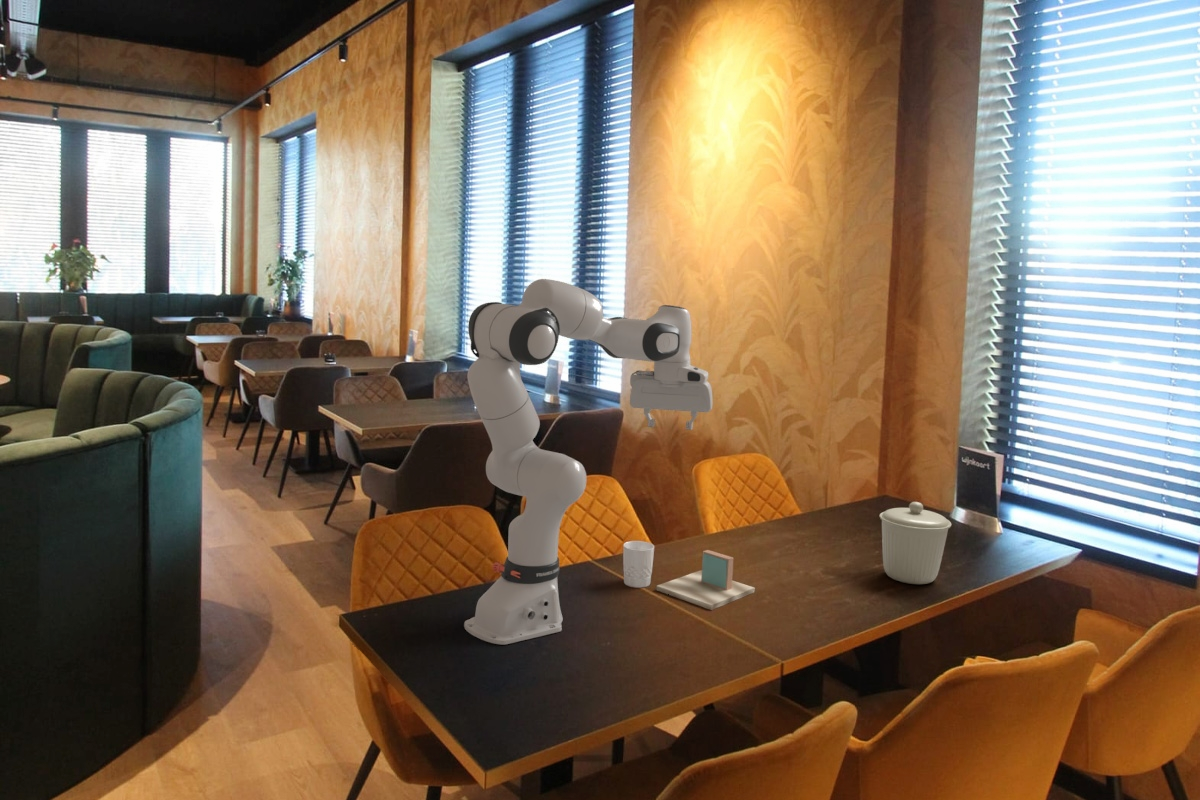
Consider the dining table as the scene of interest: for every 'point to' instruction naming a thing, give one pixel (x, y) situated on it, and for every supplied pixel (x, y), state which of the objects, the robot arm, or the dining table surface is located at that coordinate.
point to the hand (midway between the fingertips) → (670, 427)
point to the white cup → (637, 563)
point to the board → (703, 591)
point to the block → (717, 569)
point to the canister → (913, 543)
